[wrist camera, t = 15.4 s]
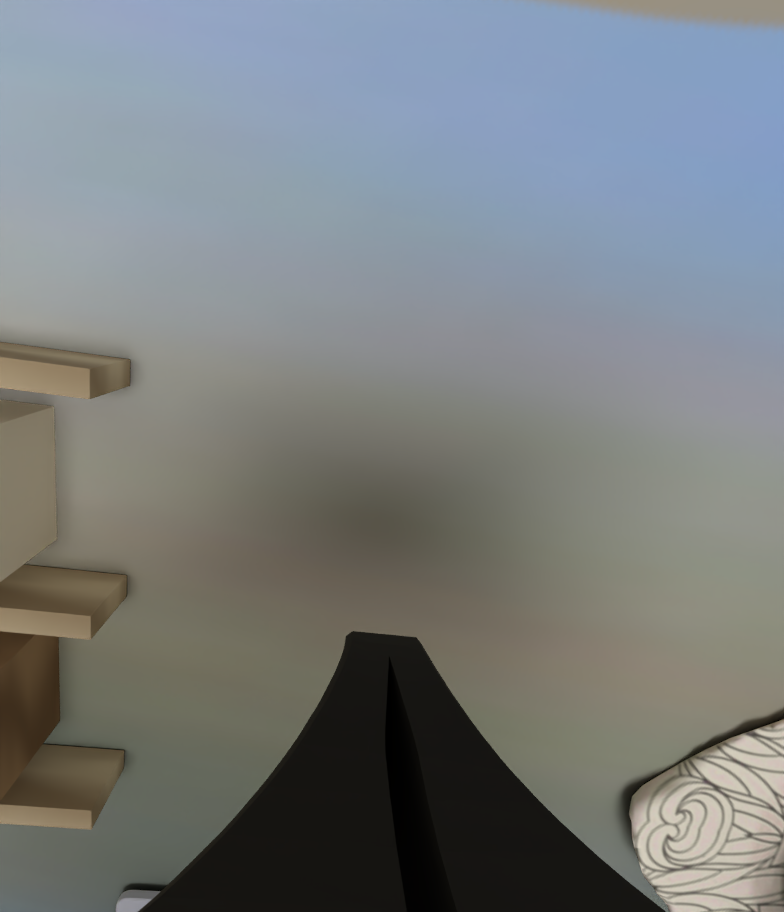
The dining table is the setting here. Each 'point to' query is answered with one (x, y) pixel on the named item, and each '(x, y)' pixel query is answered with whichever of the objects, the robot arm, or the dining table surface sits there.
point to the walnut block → (26, 699)
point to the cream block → (26, 483)
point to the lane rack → (61, 610)
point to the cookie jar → (717, 827)
